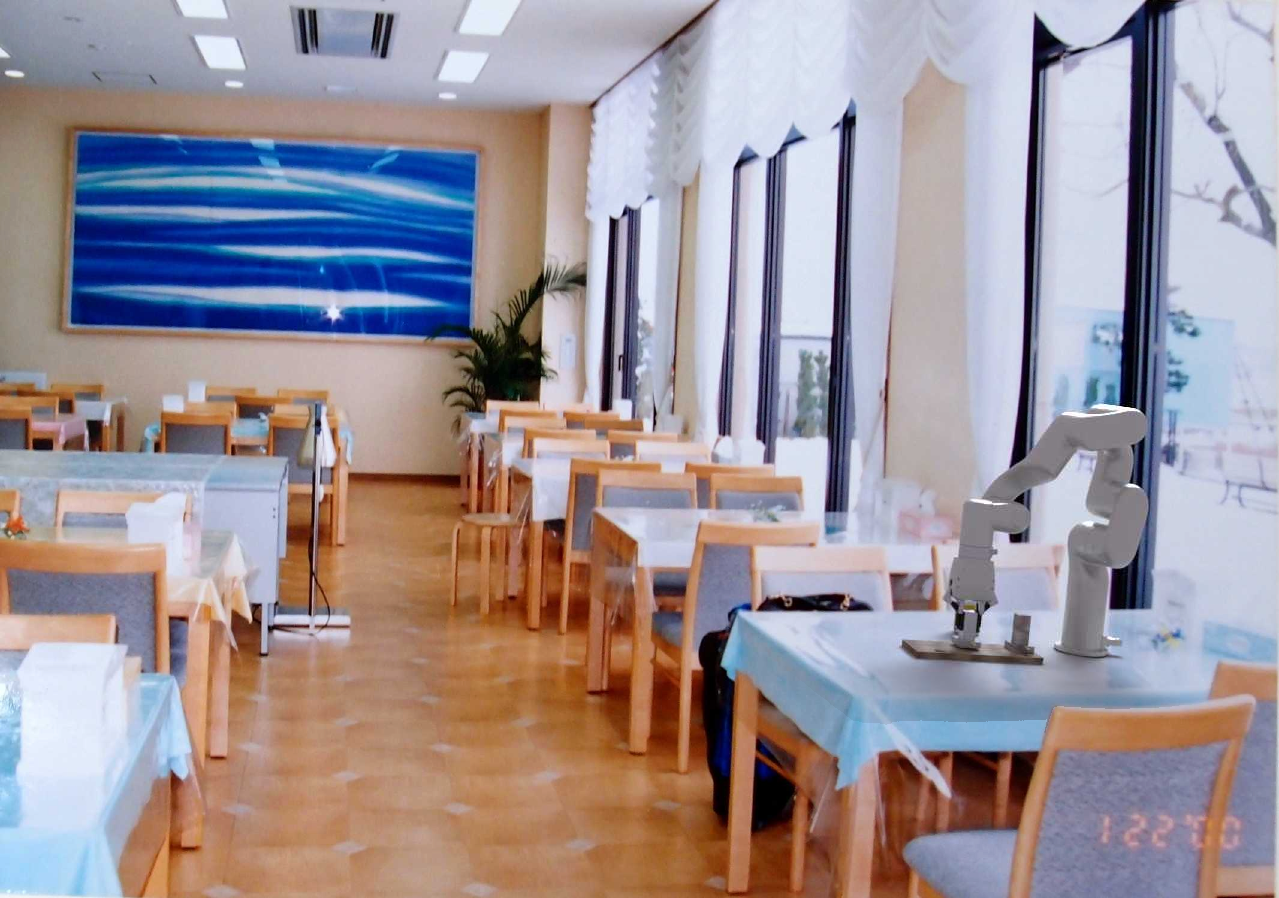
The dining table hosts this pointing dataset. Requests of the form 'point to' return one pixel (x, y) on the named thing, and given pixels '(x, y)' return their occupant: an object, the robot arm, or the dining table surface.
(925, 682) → the dining table surface
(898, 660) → the dining table surface
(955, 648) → the wooden board with posts
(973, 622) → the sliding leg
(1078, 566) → the robot arm
